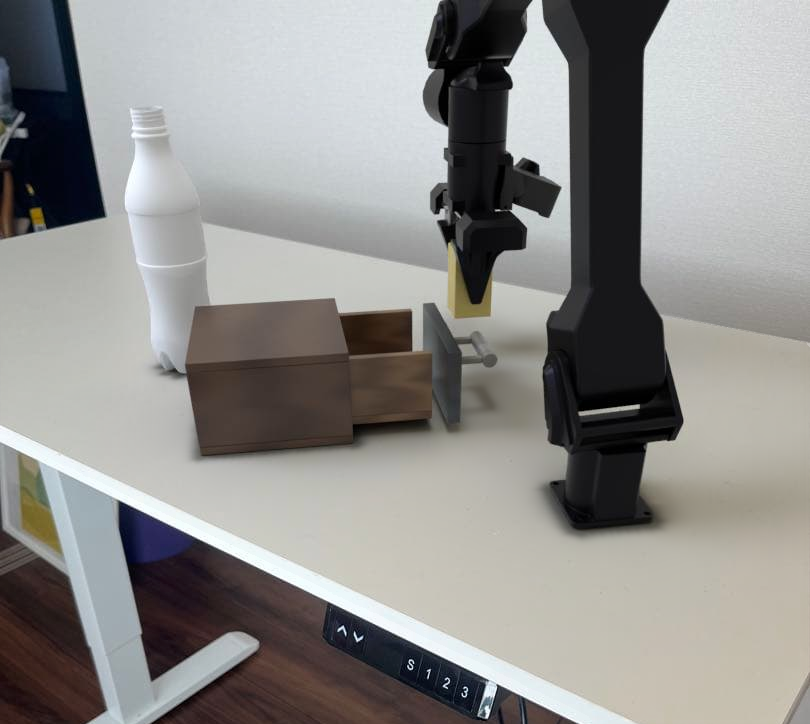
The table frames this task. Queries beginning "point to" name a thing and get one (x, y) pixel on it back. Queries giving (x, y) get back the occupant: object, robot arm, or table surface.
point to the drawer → (406, 365)
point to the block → (464, 292)
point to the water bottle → (166, 236)
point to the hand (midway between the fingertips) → (471, 297)
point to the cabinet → (269, 376)
